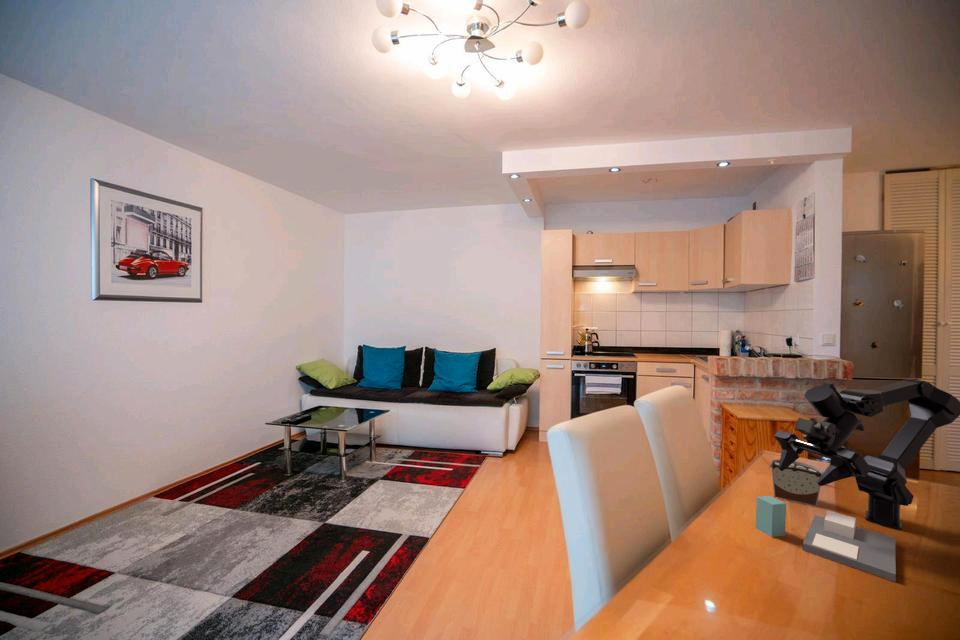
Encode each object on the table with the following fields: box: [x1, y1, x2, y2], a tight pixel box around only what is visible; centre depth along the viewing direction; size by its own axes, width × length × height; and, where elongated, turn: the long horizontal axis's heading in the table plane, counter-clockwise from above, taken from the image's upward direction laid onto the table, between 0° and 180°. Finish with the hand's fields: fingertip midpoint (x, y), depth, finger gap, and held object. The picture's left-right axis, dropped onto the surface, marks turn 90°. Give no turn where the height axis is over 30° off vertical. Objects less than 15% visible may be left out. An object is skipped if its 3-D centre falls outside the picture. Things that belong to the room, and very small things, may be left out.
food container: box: [769, 458, 824, 508], centre depth 114 cm, size 12×6×10 cm, turn 58°
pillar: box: [755, 495, 787, 538], centre depth 94 cm, size 4×4×8 cm
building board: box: [802, 509, 897, 583], centre depth 88 cm, size 20×14×4 cm
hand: (798, 476), depth 96 cm, fingers open, 9 cm apart
